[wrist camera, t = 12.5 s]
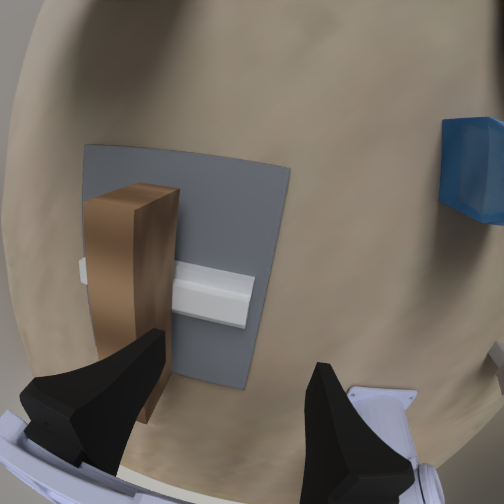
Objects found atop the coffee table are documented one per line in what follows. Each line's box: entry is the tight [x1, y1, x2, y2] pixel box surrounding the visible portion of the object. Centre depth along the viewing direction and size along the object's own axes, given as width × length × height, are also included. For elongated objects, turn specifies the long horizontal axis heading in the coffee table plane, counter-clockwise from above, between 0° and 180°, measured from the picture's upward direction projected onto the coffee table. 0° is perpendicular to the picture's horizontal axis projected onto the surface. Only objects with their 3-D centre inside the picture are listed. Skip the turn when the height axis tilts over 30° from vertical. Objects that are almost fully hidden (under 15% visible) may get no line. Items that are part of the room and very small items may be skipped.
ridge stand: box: [79, 144, 290, 390], centre depth 22 cm, size 20×16×3 cm
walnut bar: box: [84, 182, 180, 424], centre depth 18 cm, size 16×3×6 cm, turn 171°
